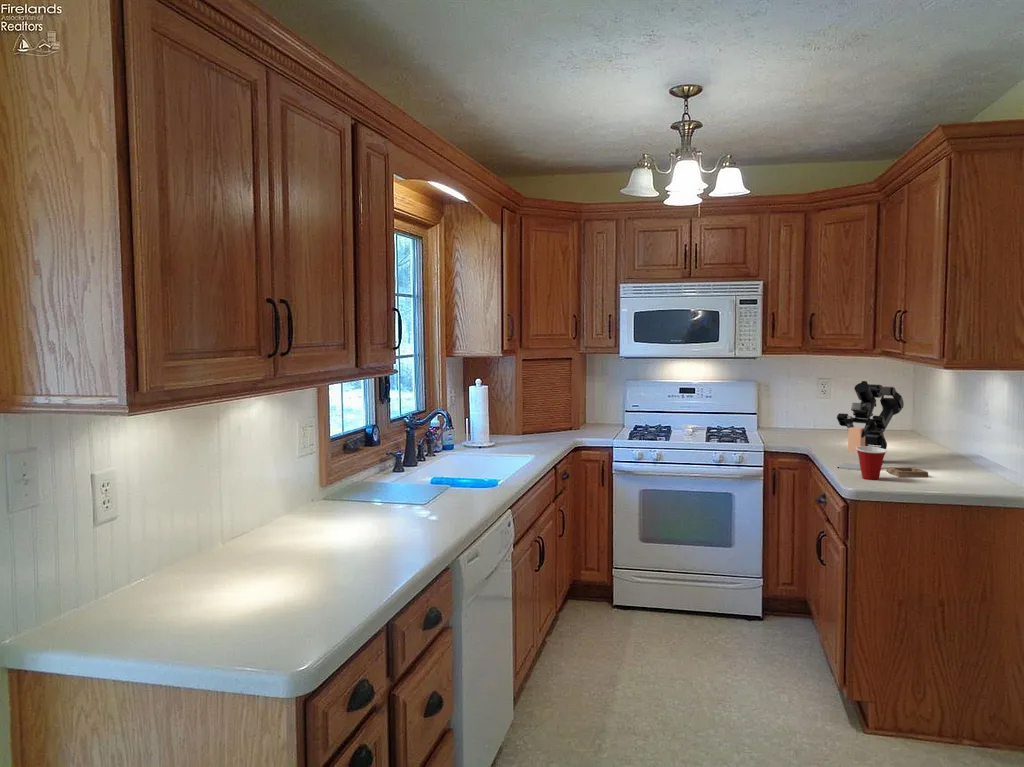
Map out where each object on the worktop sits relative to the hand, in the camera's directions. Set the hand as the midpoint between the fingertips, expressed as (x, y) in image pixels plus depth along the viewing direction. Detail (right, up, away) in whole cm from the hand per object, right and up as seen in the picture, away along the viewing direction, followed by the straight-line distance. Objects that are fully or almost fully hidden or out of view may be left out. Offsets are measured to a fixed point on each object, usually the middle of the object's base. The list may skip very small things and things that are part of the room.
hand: (855, 436), depth 310 cm
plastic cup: (-4, -15, -22) cm, 27 cm away
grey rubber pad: (+1, -13, +3) cm, 14 cm away
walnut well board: (+14, -14, -15) cm, 25 cm away
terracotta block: (+1, -7, +1) cm, 7 cm away
